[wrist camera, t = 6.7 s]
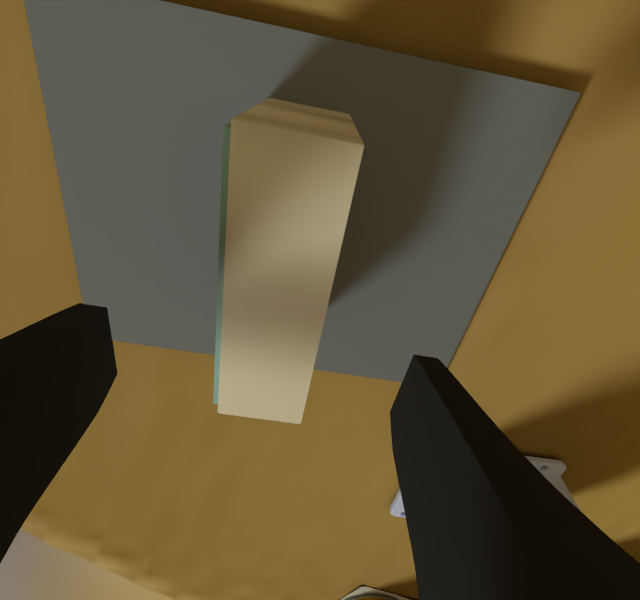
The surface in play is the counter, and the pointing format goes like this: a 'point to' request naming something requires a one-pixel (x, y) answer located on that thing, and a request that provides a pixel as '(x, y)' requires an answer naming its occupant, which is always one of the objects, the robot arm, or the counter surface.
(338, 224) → the tile
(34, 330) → the robot arm
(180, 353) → the counter surface
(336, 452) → the counter surface
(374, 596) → the condiment
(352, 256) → the mat
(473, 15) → the counter surface
